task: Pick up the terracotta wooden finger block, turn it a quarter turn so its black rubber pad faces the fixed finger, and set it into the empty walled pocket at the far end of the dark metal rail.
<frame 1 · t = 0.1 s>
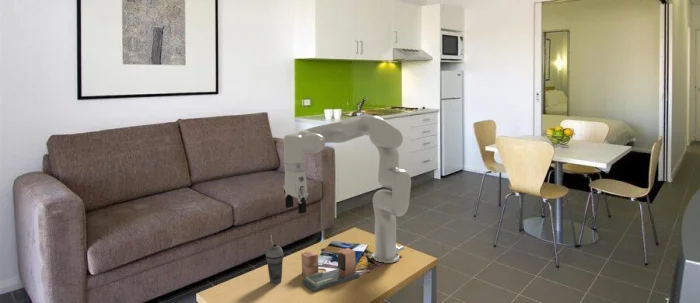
hand: (295, 210, 178), 31 cm above the table, tool pointing down, fingers open, 9 cm apart
rail: (331, 279, 187), on the table
finger block: (310, 274, 193), on the table
beverage cup: (275, 282, 186), on the table
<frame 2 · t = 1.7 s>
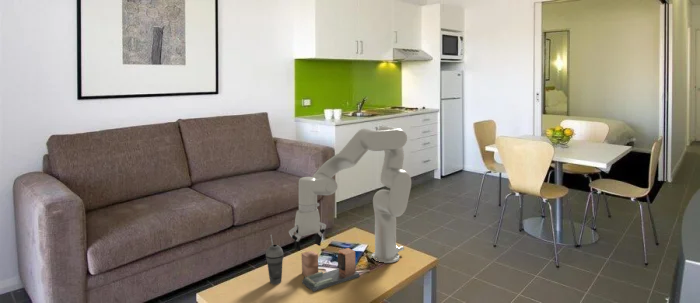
hand: (308, 247, 191), 12 cm above the table, tool pointing down, fingers open, 9 cm apart
nothing on the table moved.
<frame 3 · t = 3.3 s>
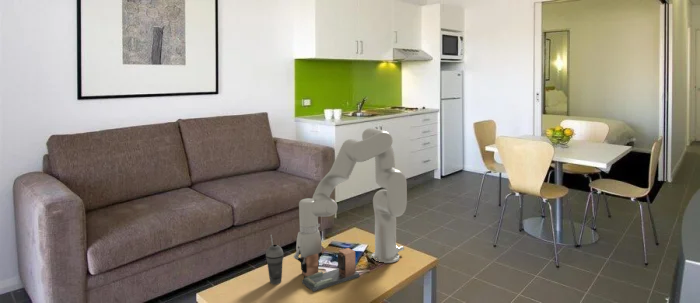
hand: (310, 269, 193), 2 cm above the table, tool pointing down, fingers closed on finger block, 5 cm apart
finger block: (310, 274, 193), on the table, touching gripper
everything else where it was.
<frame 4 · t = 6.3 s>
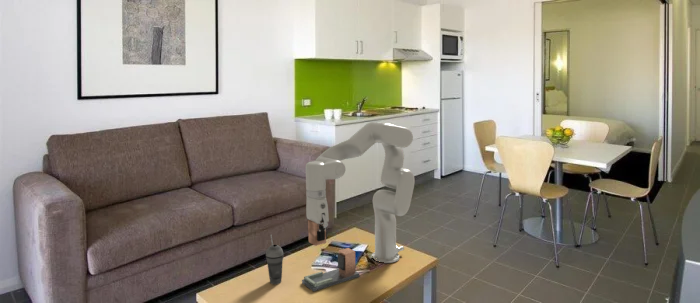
hand: (317, 237, 181), 19 cm above the table, tool pointing down, fingers closed on finger block, 5 cm apart
finger block: (317, 242, 181), point 17 cm above the table, touching gripper
everything else where it was.
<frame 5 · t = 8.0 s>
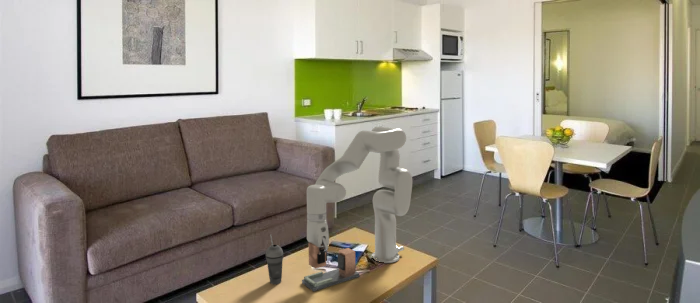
hand: (317, 260, 182), 10 cm above the table, tool pointing down, fingers closed on finger block, 5 cm apart
finger block: (317, 264, 182), point 8 cm above the table, touching gripper
everything else where it was.
when the fingers open (5 cm above the table, at t = 9.4 s): finger block drops 1 cm, resting on rail.
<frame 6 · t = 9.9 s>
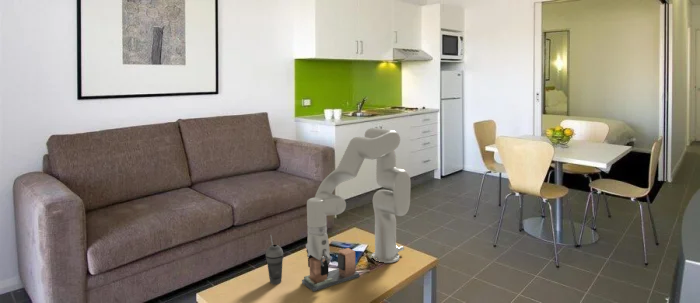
hand: (318, 270, 183), 6 cm above the table, tool pointing down, fingers open, 9 cm apart
finger block: (318, 280, 183), point 1 cm above the table, touching rail
everything else where it was.
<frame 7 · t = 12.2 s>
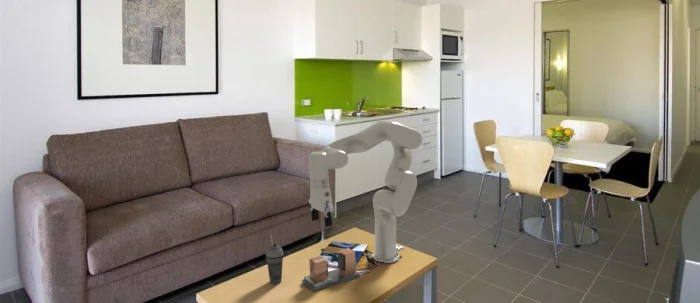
hand: (321, 222, 187), 23 cm above the table, tool pointing down, fingers open, 9 cm apart
nothing on the table moved.
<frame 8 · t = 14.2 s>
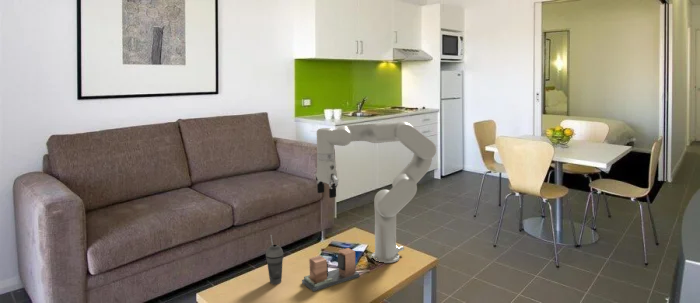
hand: (326, 194, 202), 30 cm above the table, tool pointing down, fingers open, 9 cm apart
nothing on the table moved.
at the end: finger block 0.0 cm from the target spot, point 1.5 cm above the table; finger block tilted 0°; the gripper is holding nothing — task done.
